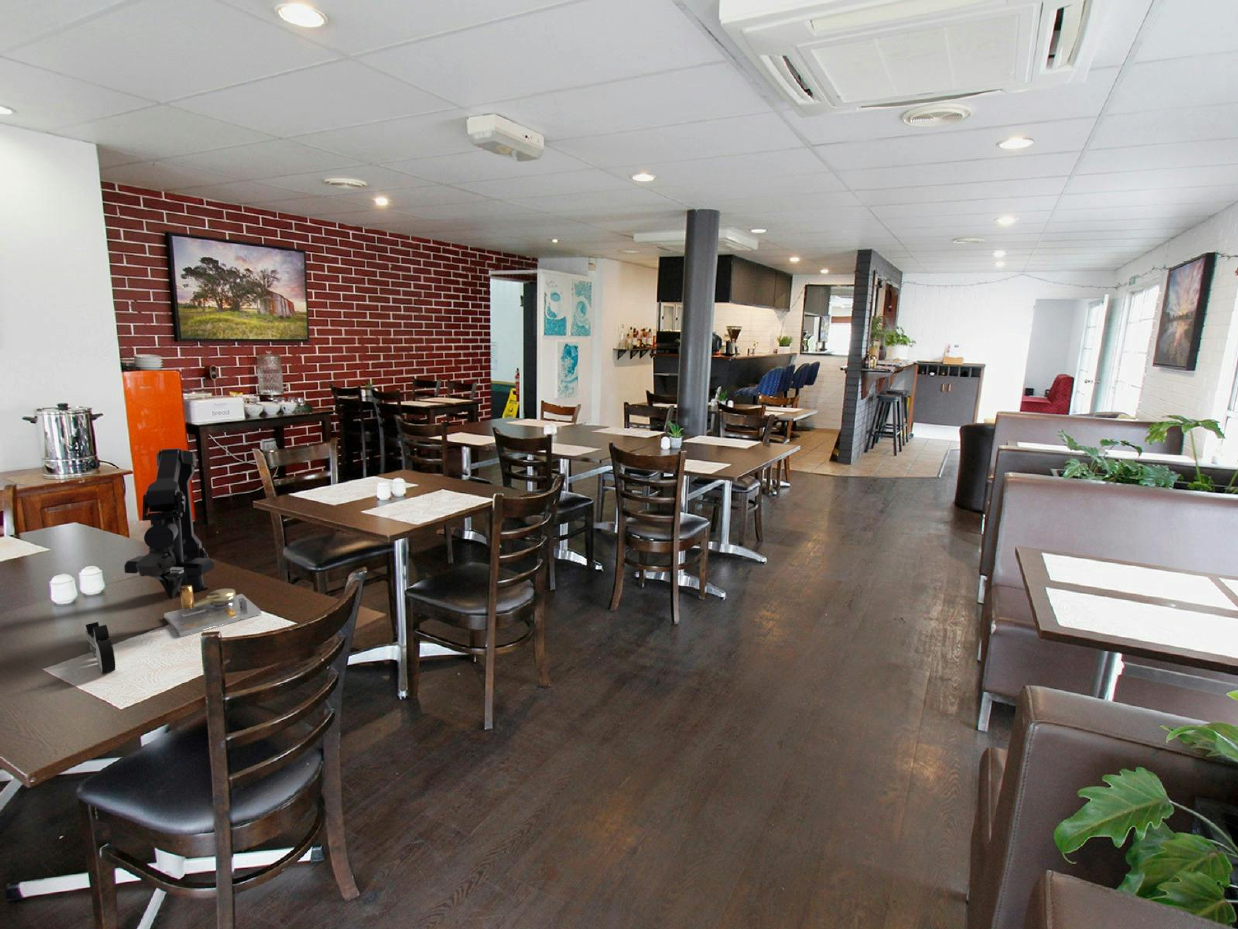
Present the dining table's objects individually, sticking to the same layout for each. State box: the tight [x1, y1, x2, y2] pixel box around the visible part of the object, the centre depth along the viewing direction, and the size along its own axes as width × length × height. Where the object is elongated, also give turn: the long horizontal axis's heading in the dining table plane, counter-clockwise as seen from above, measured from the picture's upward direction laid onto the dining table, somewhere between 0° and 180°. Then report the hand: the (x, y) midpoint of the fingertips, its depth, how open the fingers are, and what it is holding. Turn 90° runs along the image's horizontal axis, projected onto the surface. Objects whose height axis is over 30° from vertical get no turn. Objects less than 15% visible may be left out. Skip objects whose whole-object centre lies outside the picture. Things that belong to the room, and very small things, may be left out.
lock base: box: [163, 593, 262, 638], centre depth 165 cm, size 15×18×4 cm
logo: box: [85, 621, 116, 674], centre depth 143 cm, size 21×2×10 cm, turn 46°
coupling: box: [179, 585, 237, 610], centre depth 166 cm, size 12×6×6 cm, turn 148°
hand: (172, 598), depth 160 cm, fingers closed
